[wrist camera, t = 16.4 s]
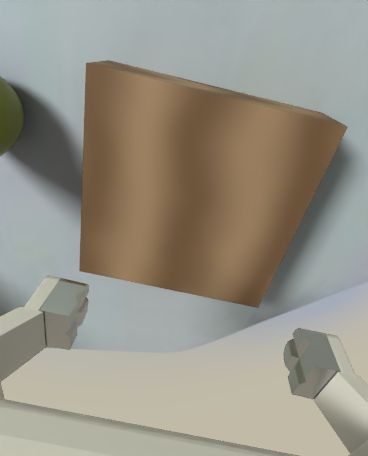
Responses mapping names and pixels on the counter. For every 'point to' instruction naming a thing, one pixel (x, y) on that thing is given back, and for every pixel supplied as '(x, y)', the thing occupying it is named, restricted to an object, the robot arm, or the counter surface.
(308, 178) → the block
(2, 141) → the pear
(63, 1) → the counter surface
